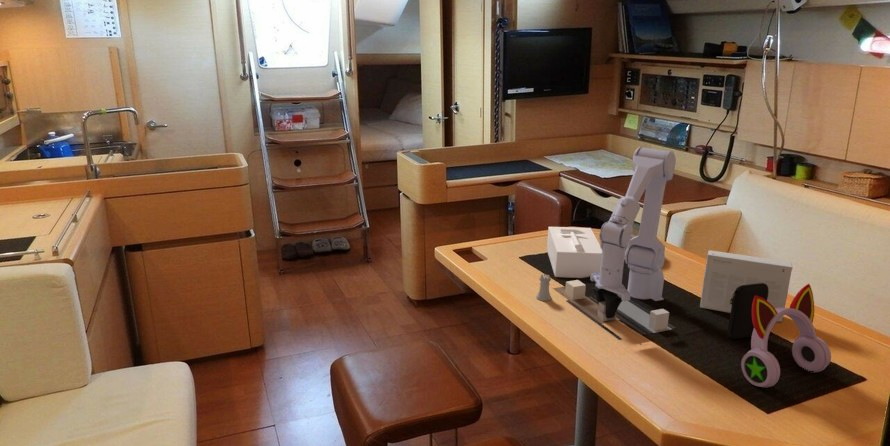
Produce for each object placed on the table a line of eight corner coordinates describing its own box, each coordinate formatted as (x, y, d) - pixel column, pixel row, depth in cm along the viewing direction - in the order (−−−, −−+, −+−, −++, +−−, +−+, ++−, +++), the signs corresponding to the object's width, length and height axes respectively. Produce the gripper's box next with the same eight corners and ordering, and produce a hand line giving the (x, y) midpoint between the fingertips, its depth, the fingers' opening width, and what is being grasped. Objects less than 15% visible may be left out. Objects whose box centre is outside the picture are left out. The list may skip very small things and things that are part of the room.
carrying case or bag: (728, 342, 160) (737, 288, 155) (719, 337, 162) (729, 284, 158) (763, 337, 163) (773, 284, 158) (754, 332, 165) (764, 280, 161)
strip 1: (569, 288, 189) (571, 271, 188) (619, 323, 168) (622, 304, 166) (552, 291, 187) (553, 274, 185) (600, 326, 166) (602, 307, 164)
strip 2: (614, 296, 185) (616, 278, 183) (671, 332, 164) (674, 313, 162) (597, 299, 183) (599, 281, 181) (653, 336, 162) (655, 316, 160)
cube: (576, 292, 184) (577, 279, 183) (584, 298, 181) (585, 285, 179) (564, 294, 183) (565, 281, 181) (572, 300, 179) (573, 287, 178)
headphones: (768, 396, 137) (785, 312, 131) (731, 373, 146) (746, 293, 139) (829, 377, 145) (847, 297, 139) (790, 357, 154) (806, 280, 147)
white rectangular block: (588, 251, 222) (591, 221, 218) (601, 279, 198) (605, 246, 195) (546, 250, 222) (548, 220, 219) (555, 277, 198) (557, 244, 195)
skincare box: (781, 315, 176) (792, 261, 171) (782, 323, 171) (793, 268, 166) (700, 300, 184) (708, 248, 179) (699, 307, 179) (707, 254, 174)
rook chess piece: (551, 305, 178) (553, 279, 176) (534, 304, 179) (536, 278, 176) (551, 299, 182) (553, 273, 180) (536, 297, 183) (537, 272, 181)
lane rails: (617, 296, 185) (618, 291, 185) (675, 332, 164) (675, 327, 164) (565, 304, 179) (566, 300, 178) (618, 344, 158) (619, 339, 157)
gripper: (582, 259, 169) (578, 306, 173) (616, 279, 156) (610, 329, 160) (604, 256, 172) (600, 302, 176) (639, 276, 159) (633, 325, 163)
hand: (606, 315), depth 168 cm, fingers closed on strip 1, 2 cm apart
